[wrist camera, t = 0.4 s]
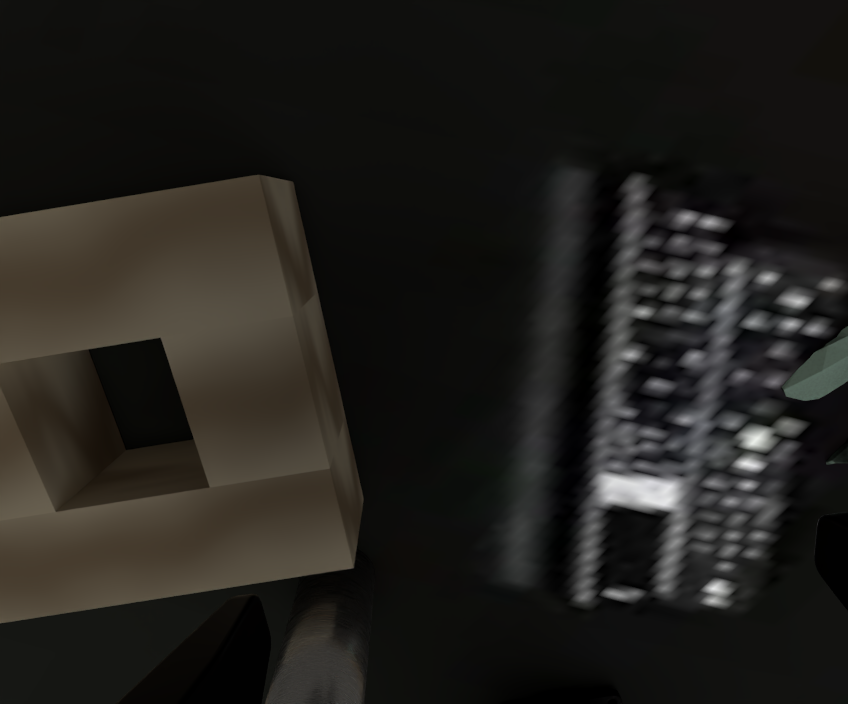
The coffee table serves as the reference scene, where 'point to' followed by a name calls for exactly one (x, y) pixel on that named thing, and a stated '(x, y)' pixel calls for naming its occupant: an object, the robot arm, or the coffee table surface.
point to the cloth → (823, 379)
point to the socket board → (199, 391)
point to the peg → (327, 639)
